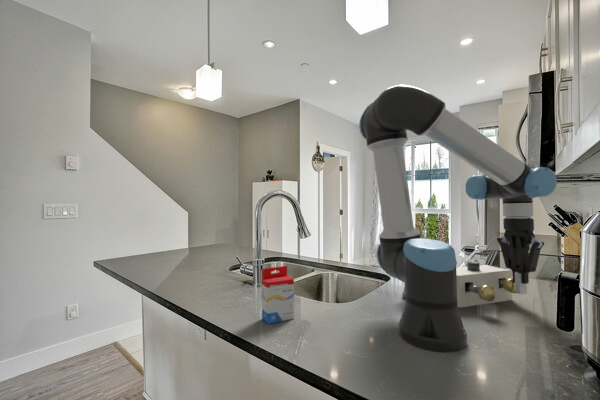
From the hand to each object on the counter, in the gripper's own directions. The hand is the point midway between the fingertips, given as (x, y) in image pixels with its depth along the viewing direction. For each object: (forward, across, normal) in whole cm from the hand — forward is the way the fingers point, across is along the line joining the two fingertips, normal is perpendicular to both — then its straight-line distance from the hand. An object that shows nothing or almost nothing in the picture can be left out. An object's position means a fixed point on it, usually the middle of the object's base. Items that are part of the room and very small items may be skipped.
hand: (521, 293), depth 86 cm
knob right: (+1, +6, 0) cm, 6 cm away
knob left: (+1, +3, +14) cm, 14 cm away
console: (+4, +10, +7) cm, 13 cm away
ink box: (+5, +15, +74) cm, 76 cm away
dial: (-6, +10, +7) cm, 14 cm away
